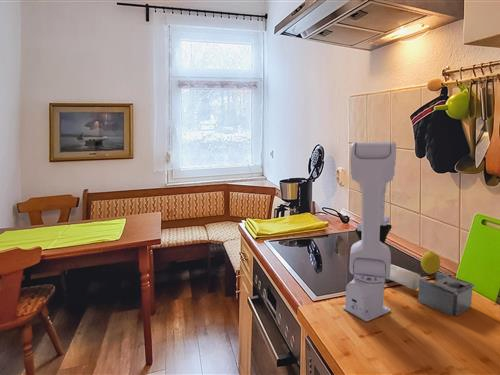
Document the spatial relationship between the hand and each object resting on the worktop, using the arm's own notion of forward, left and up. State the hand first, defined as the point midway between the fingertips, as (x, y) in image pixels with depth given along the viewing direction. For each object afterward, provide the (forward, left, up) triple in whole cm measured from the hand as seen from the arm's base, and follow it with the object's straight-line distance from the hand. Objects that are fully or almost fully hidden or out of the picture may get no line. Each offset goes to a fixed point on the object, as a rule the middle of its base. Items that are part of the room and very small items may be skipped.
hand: (373, 249), depth 104 cm
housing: (+3, -21, -10) cm, 23 cm away
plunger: (+3, -23, -5) cm, 24 cm away
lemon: (+18, -8, -10) cm, 22 cm away
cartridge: (+3, -9, -10) cm, 13 cm away
